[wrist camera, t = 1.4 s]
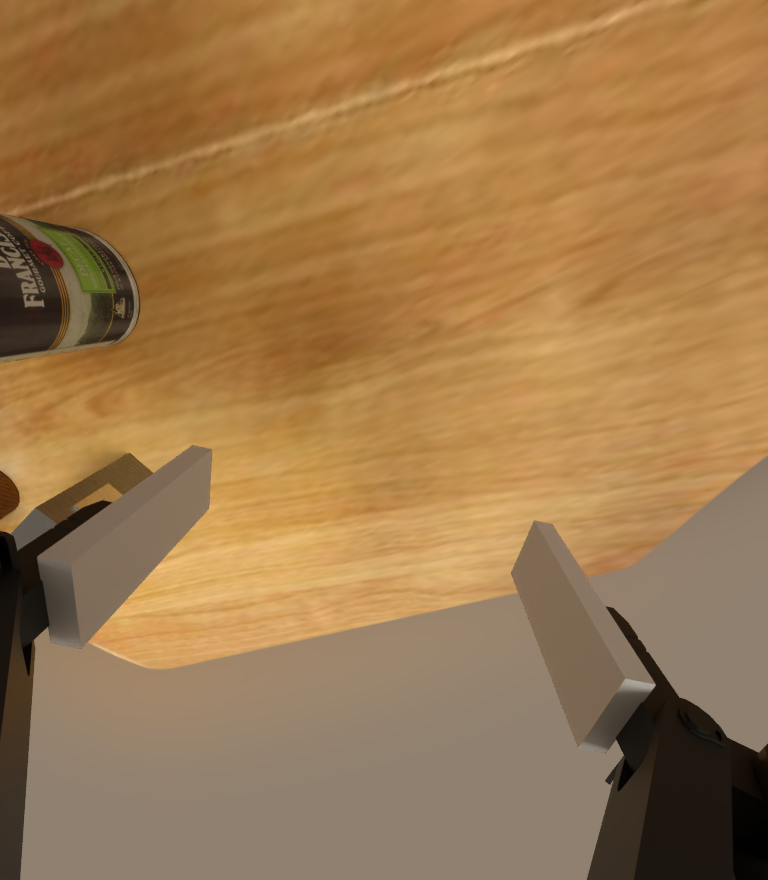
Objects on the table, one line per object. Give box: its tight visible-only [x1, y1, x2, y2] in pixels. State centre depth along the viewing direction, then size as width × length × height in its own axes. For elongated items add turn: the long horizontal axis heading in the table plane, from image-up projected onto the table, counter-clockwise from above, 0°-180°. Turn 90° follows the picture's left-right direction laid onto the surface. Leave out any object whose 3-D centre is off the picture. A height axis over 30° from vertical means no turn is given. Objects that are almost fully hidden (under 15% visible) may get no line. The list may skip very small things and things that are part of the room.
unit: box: [11, 453, 153, 551], centre depth 37 cm, size 9×10×11 cm
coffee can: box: [0, 214, 140, 363], centre depth 28 cm, size 10×10×14 cm
